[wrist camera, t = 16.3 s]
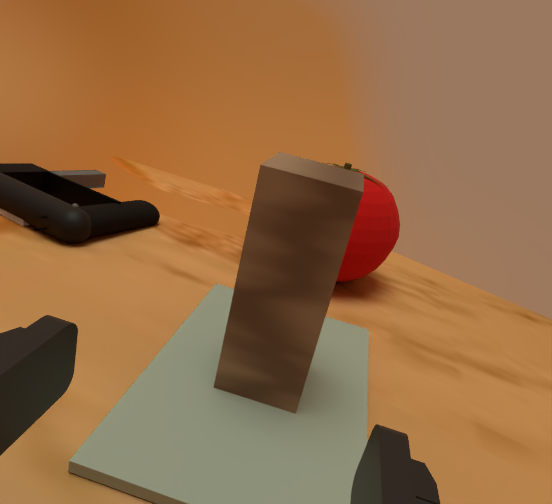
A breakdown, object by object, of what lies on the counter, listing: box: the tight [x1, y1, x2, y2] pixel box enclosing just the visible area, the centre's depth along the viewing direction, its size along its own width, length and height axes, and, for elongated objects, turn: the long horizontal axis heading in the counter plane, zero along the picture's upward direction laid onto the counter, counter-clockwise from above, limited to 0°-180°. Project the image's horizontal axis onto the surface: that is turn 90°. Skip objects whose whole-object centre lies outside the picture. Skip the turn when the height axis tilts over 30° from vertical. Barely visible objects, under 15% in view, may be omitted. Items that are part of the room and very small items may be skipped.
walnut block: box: [213, 152, 364, 414], centre depth 23 cm, size 4×4×12 cm
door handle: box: [0, 164, 160, 244], centre depth 45 cm, size 3×20×16 cm
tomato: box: [331, 163, 400, 282], centre depth 41 cm, size 11×12×10 cm
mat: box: [69, 284, 369, 504], centre depth 25 cm, size 12×18×1 cm, turn 168°
